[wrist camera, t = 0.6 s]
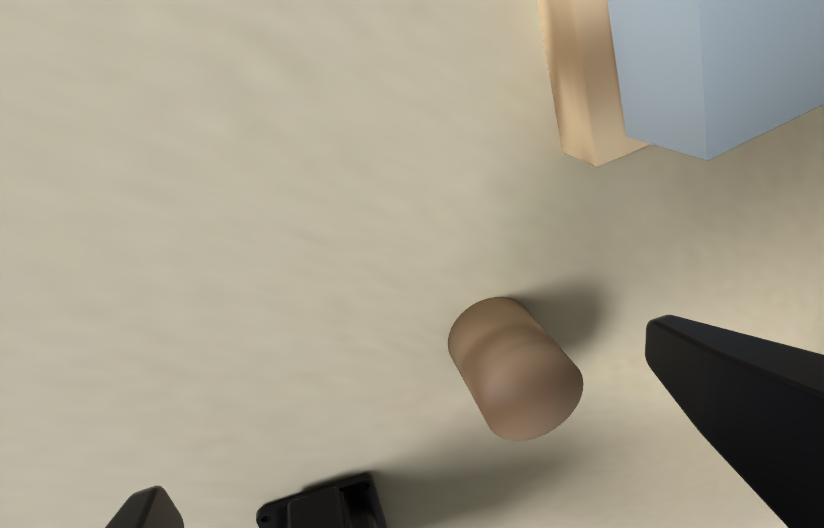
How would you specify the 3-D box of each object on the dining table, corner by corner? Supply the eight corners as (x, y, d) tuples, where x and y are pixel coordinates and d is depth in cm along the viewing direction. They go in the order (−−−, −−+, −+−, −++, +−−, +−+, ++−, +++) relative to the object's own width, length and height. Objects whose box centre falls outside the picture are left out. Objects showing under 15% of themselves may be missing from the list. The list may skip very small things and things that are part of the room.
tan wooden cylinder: (531, 357, 27) (582, 422, 22) (452, 381, 26) (489, 453, 22) (528, 287, 24) (584, 343, 20) (442, 310, 24) (481, 375, 19)
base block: (693, 92, 22) (748, 101, 20) (558, 150, 22) (597, 167, 19) (688, -84, 19) (755, -101, 16) (528, -20, 18) (570, -28, 16)
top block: (735, 83, 19) (839, 95, 16) (626, 136, 19) (707, 160, 15) (733, -58, 17) (855, -81, 13) (607, 0, 16) (698, -7, 13)
